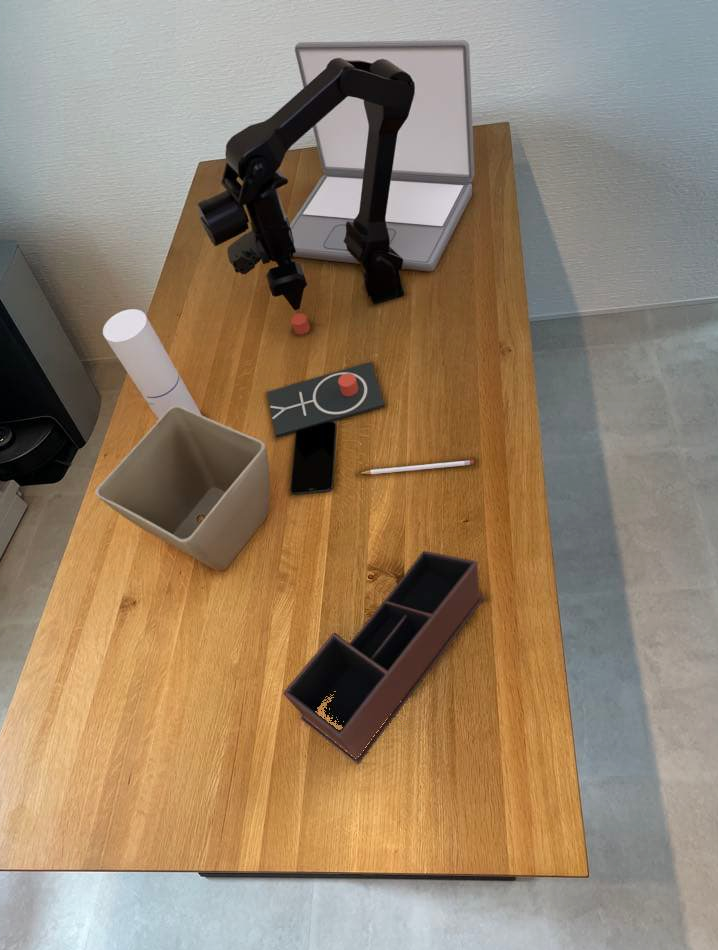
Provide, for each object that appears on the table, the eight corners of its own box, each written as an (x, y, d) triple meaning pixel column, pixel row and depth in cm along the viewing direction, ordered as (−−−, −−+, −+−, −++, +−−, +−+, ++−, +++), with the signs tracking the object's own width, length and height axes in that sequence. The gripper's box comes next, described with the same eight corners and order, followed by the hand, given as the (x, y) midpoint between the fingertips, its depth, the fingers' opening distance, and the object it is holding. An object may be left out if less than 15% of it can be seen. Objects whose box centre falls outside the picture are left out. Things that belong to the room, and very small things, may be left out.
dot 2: (356, 381, 123) (353, 371, 121) (360, 393, 121) (357, 383, 119) (339, 386, 123) (336, 376, 121) (342, 398, 122) (339, 388, 120)
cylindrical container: (199, 445, 123) (136, 341, 102) (164, 444, 125) (95, 341, 104) (211, 415, 127) (152, 308, 106) (176, 414, 129) (112, 309, 108)
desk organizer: (300, 719, 93) (277, 693, 84) (426, 563, 102) (418, 523, 93) (358, 766, 89) (340, 744, 79) (485, 598, 98) (483, 560, 88)
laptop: (277, 257, 148) (232, 120, 124) (328, 179, 160) (296, 40, 135) (432, 275, 135) (416, 126, 111) (476, 189, 147) (470, 38, 123)
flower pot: (297, 506, 112) (267, 442, 98) (228, 598, 106) (185, 543, 91) (212, 467, 120) (173, 402, 106) (143, 550, 114) (91, 493, 99)
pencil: (474, 465, 110) (474, 462, 109) (360, 476, 113) (360, 473, 113) (473, 461, 110) (473, 459, 110) (360, 472, 114) (360, 469, 113)
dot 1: (308, 321, 135) (305, 311, 133) (311, 331, 134) (308, 321, 132) (293, 325, 136) (289, 316, 133) (295, 336, 134) (292, 326, 132)
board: (371, 364, 126) (370, 361, 125) (384, 407, 120) (383, 403, 119) (268, 394, 127) (266, 391, 126) (276, 438, 121) (274, 434, 120)
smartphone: (297, 428, 122) (290, 496, 114) (295, 425, 121) (289, 493, 113) (337, 423, 121) (333, 492, 113) (336, 420, 120) (332, 489, 112)
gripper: (215, 201, 118) (245, 276, 131) (228, 265, 108) (258, 339, 121) (276, 181, 118) (300, 259, 131) (294, 244, 108) (318, 321, 121)
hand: (292, 293), depth 126 cm, fingers open, 9 cm apart
